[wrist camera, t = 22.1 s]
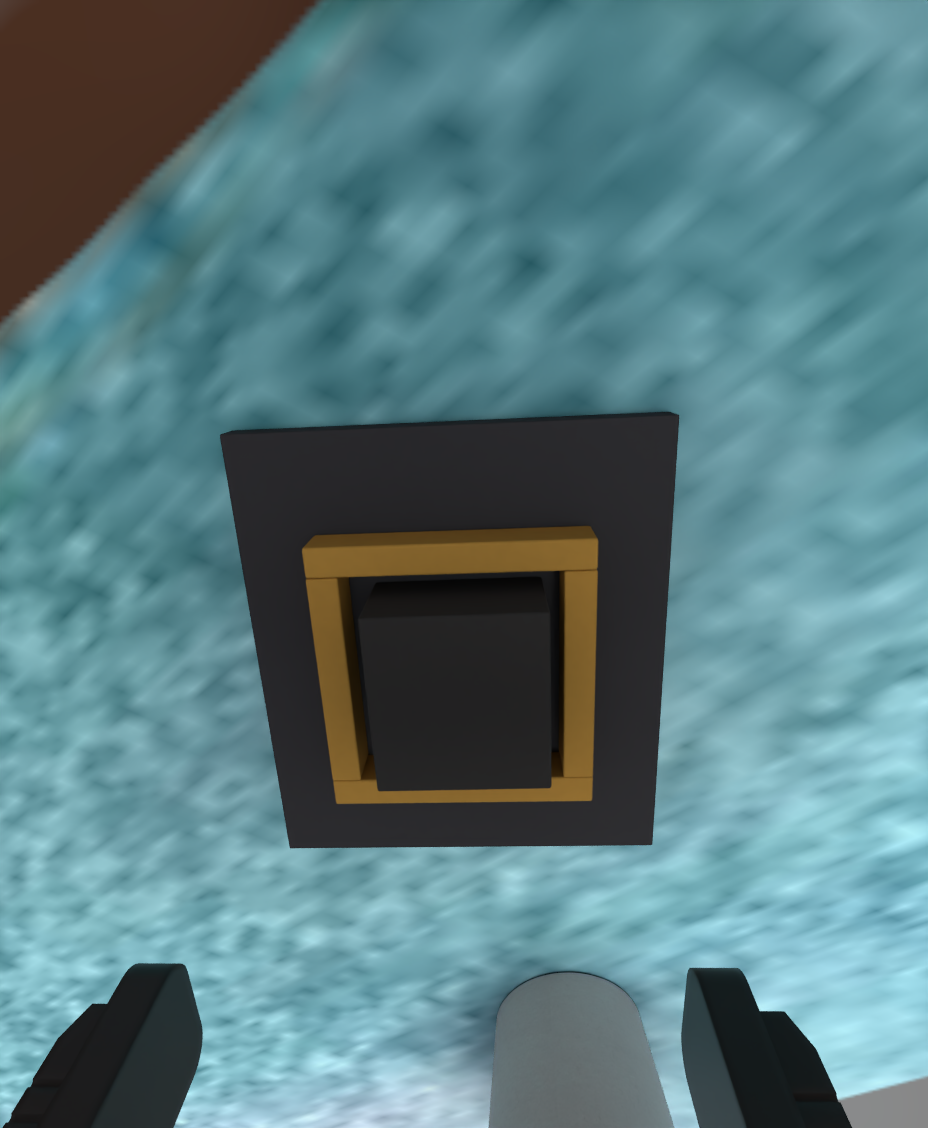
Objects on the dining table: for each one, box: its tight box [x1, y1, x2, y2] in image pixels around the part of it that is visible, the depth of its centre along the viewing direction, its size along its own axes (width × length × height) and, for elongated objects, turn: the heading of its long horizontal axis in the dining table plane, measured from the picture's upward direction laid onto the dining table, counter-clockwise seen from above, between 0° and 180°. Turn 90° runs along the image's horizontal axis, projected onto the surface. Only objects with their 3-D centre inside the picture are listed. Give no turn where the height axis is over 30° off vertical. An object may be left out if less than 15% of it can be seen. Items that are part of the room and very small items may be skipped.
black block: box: [358, 577, 552, 791], centre depth 20 cm, size 6×6×3 cm
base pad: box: [220, 412, 679, 848], centre depth 21 cm, size 16×14×2 cm
